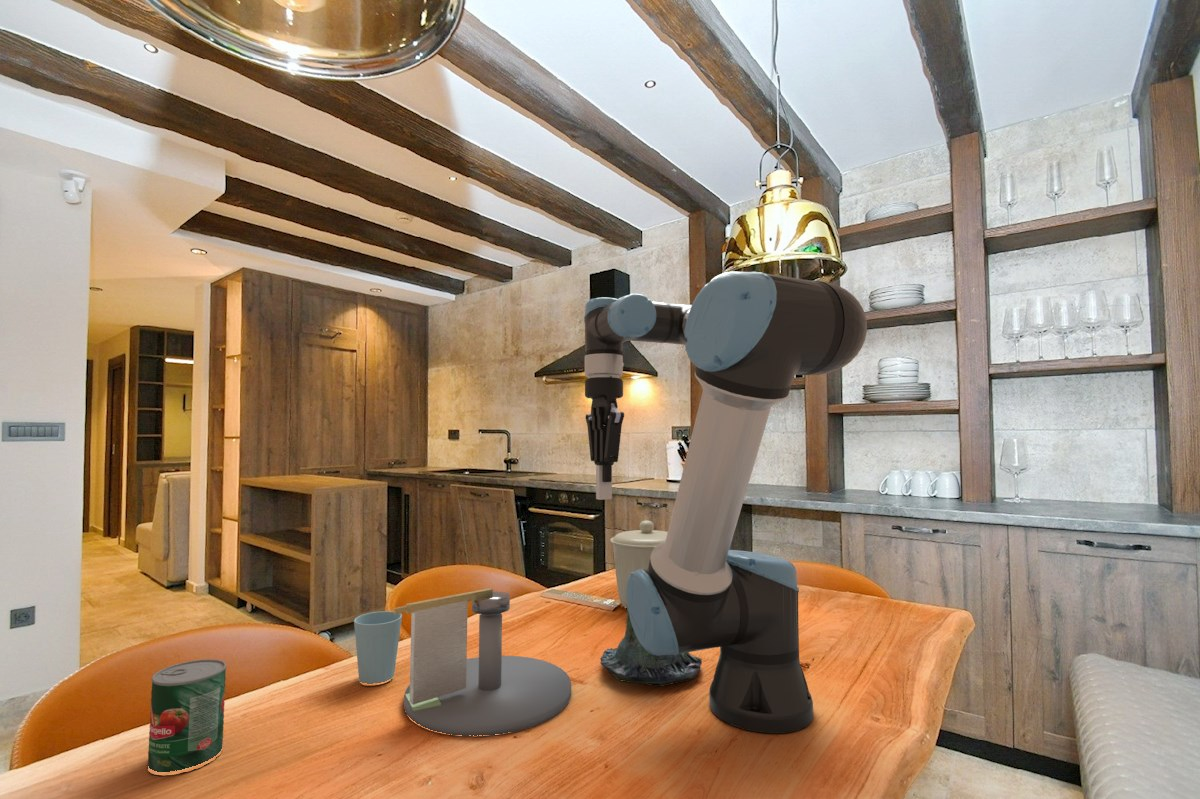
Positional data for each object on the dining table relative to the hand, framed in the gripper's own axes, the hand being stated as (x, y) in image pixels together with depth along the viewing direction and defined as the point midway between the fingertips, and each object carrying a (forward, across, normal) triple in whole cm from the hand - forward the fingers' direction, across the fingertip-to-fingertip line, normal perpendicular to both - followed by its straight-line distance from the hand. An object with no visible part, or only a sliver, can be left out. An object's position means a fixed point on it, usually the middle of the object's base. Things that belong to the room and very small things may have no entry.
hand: (604, 498), depth 111 cm
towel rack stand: (+27, -10, +30) cm, 42 cm away
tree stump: (+30, -10, -5) cm, 32 cm away
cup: (+30, +6, +40) cm, 50 cm away
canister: (+30, +24, -23) cm, 45 cm away
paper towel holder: (+29, -8, +24) cm, 39 cm away
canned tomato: (+30, -10, +64) cm, 71 cm away
